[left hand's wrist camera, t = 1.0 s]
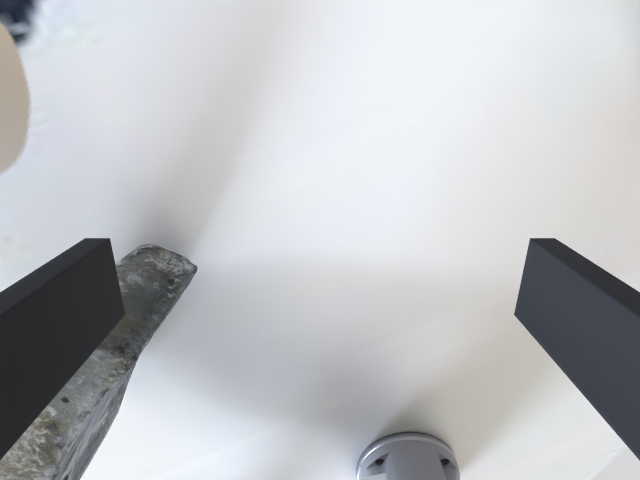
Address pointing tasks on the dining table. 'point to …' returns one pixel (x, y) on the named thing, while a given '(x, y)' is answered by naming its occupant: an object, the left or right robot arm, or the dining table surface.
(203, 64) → the dining table surface
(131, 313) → the concrete block
